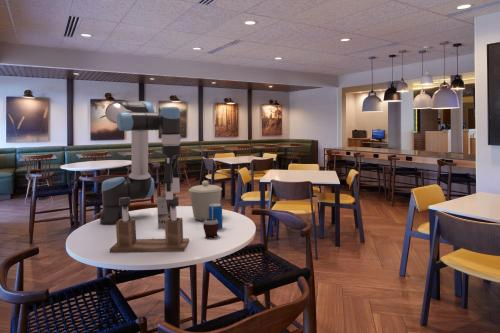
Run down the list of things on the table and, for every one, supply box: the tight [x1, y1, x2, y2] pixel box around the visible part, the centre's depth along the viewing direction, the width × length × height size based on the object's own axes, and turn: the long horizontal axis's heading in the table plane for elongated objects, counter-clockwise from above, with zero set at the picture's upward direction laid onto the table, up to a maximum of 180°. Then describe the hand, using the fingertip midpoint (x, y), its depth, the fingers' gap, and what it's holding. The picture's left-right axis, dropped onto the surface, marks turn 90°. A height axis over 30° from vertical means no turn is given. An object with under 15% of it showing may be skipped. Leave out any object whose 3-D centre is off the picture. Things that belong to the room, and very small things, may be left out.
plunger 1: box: [119, 197, 131, 222], centre depth 145 cm, size 4×4×18 cm
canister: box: [188, 180, 223, 222], centre depth 191 cm, size 18×18×21 cm
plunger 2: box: [168, 196, 179, 221], centre depth 146 cm, size 4×4×18 cm
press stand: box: [109, 217, 190, 254], centre depth 146 cm, size 12×30×12 cm, turn 90°
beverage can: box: [209, 203, 223, 231], centre depth 171 cm, size 6×6×12 cm
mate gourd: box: [202, 202, 219, 239], centre depth 159 cm, size 8×8×15 cm
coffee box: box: [156, 193, 176, 230], centre depth 177 cm, size 9×6×16 cm
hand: (173, 195), depth 146 cm, fingers open, 13 cm apart
